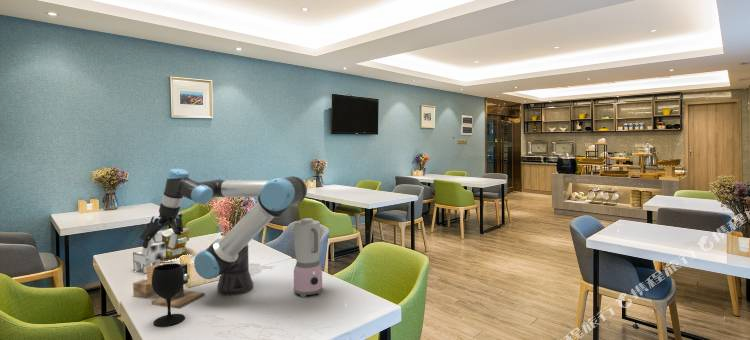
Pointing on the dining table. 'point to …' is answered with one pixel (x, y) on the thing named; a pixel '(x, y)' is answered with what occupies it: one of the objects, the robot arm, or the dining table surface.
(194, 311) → the dining table surface
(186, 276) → the hook
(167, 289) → the wine glass
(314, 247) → the blender
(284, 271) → the dining table surface
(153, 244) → the toy llama
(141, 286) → the rest block
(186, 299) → the base board
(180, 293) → the eye post
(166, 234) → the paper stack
